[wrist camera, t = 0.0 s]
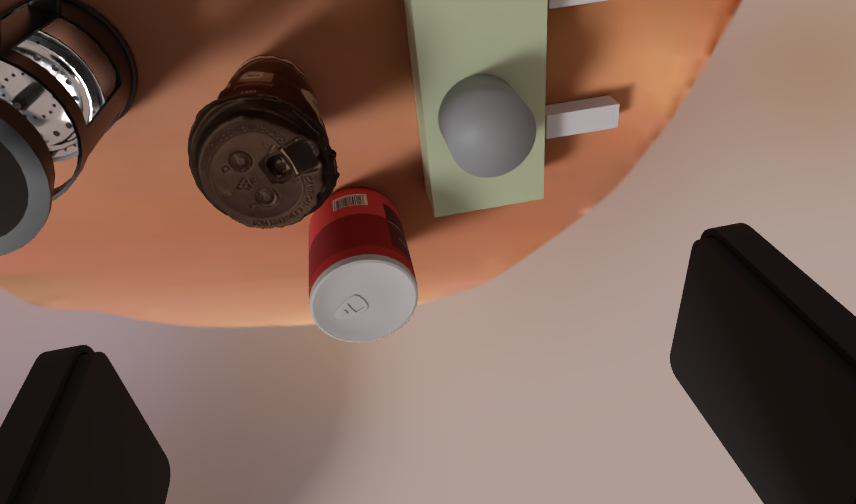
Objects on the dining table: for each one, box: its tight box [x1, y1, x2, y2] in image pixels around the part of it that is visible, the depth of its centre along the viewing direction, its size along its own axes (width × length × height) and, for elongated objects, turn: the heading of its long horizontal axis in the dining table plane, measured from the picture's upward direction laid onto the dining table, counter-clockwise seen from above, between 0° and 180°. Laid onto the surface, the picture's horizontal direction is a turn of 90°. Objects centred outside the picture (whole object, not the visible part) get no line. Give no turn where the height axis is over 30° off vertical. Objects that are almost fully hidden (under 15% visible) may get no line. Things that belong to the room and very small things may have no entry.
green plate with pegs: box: [404, 0, 620, 218], centre depth 42 cm, size 20×16×8 cm
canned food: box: [309, 187, 418, 342], centre depth 46 cm, size 8×8×11 cm
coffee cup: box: [188, 56, 340, 229], centre depth 38 cm, size 9×8×13 cm
